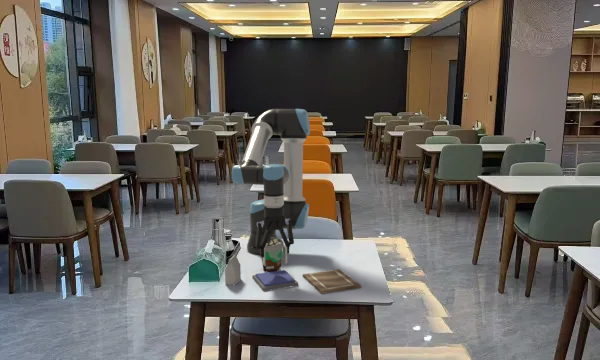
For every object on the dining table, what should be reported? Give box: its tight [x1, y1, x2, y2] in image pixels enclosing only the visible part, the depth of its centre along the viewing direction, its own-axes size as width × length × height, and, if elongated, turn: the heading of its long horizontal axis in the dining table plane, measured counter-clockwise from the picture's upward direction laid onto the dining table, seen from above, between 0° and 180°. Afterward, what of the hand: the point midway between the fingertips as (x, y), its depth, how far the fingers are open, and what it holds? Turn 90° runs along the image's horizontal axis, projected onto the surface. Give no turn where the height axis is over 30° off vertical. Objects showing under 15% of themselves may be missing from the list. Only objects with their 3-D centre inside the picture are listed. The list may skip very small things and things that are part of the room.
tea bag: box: [224, 254, 242, 286], centre depth 202 cm, size 4×7×10 cm, turn 166°
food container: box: [265, 236, 285, 271], centre depth 201 cm, size 12×6×10 cm, turn 172°
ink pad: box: [252, 269, 299, 292], centre depth 203 cm, size 14×14×2 cm
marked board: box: [302, 268, 362, 295], centre depth 202 cm, size 19×16×1 cm
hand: (275, 263), depth 202 cm, fingers closed on food container, 8 cm apart
